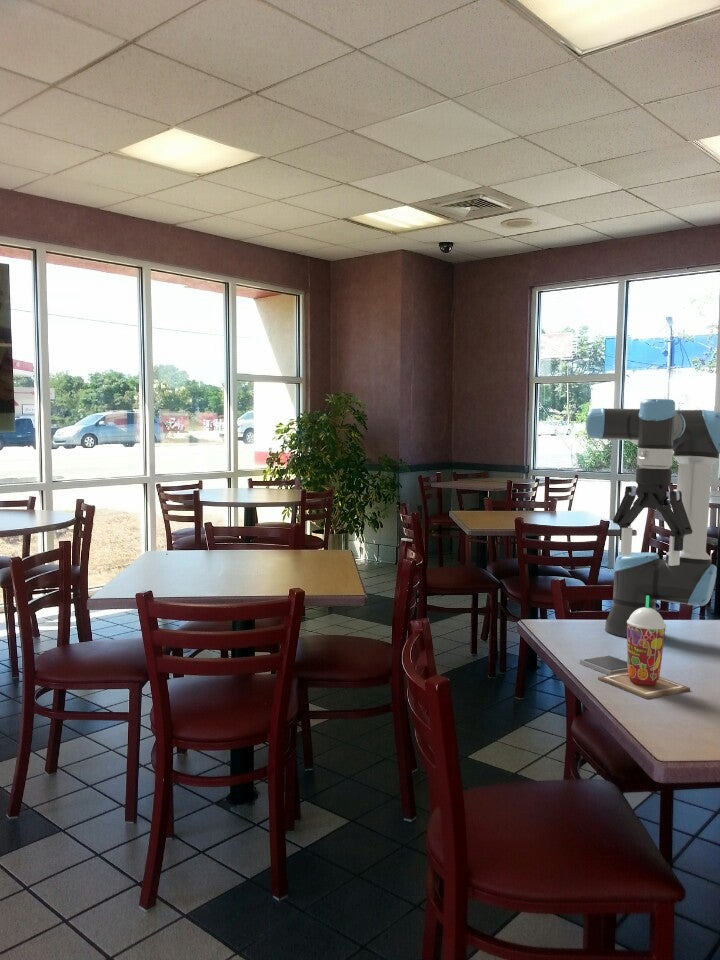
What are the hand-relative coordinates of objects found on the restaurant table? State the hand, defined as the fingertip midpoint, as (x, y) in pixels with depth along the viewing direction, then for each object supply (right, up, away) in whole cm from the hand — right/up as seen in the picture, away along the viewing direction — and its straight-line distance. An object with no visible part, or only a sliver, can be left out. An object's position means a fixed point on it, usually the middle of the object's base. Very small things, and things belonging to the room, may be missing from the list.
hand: (648, 560), depth 176 cm
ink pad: (-5, -28, +13) cm, 31 cm away
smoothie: (-1, -28, 0) cm, 28 cm away
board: (-1, -29, 0) cm, 28 cm away
